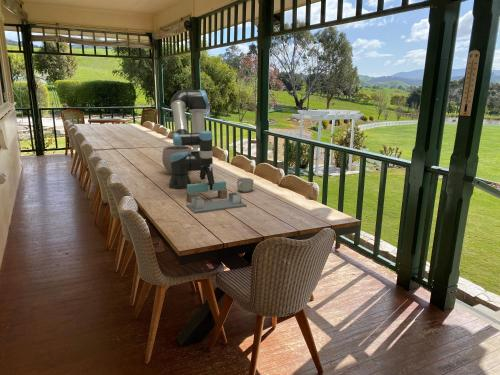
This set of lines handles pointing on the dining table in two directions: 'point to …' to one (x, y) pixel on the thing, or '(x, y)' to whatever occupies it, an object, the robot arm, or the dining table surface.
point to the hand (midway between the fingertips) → (207, 192)
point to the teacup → (245, 184)
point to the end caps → (199, 203)
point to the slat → (205, 187)
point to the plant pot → (171, 150)
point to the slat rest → (221, 194)
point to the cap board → (216, 206)
